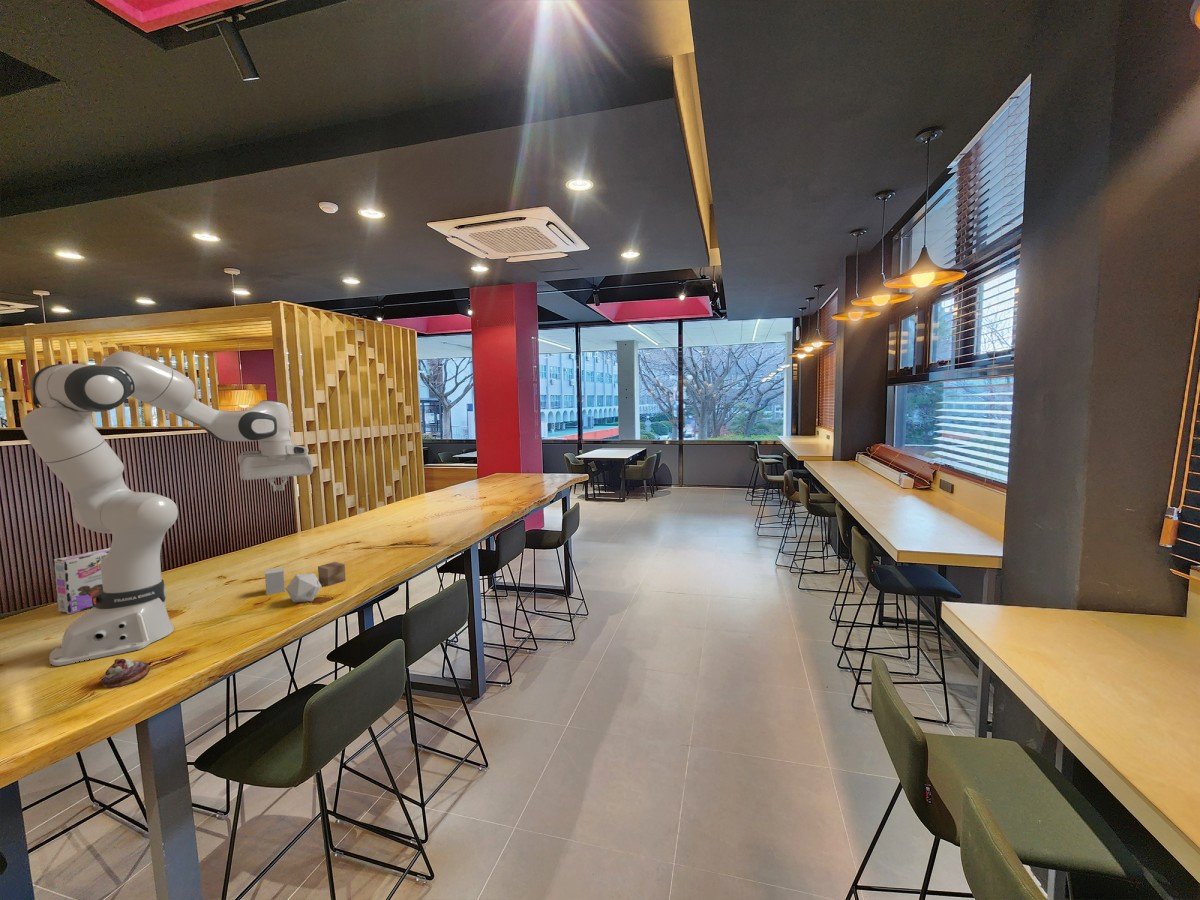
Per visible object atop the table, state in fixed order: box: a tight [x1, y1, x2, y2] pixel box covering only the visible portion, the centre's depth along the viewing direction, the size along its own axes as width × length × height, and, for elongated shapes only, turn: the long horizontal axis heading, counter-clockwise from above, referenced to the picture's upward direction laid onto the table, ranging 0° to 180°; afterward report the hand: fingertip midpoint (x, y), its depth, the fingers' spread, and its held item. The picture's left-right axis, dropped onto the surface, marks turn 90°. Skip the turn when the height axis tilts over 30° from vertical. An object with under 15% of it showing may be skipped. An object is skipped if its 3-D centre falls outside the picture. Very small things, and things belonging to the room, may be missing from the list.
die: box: [285, 572, 322, 604], centre depth 151 cm, size 8×9×10 cm
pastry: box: [100, 658, 150, 689], centre depth 107 cm, size 8×8×5 cm
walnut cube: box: [317, 561, 347, 587], centre depth 167 cm, size 6×6×6 cm
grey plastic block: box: [264, 566, 286, 596], centre depth 159 cm, size 5×5×7 cm
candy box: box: [53, 547, 111, 615], centre depth 148 cm, size 14×6×16 cm, turn 161°
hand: (278, 490), depth 160 cm, fingers closed
